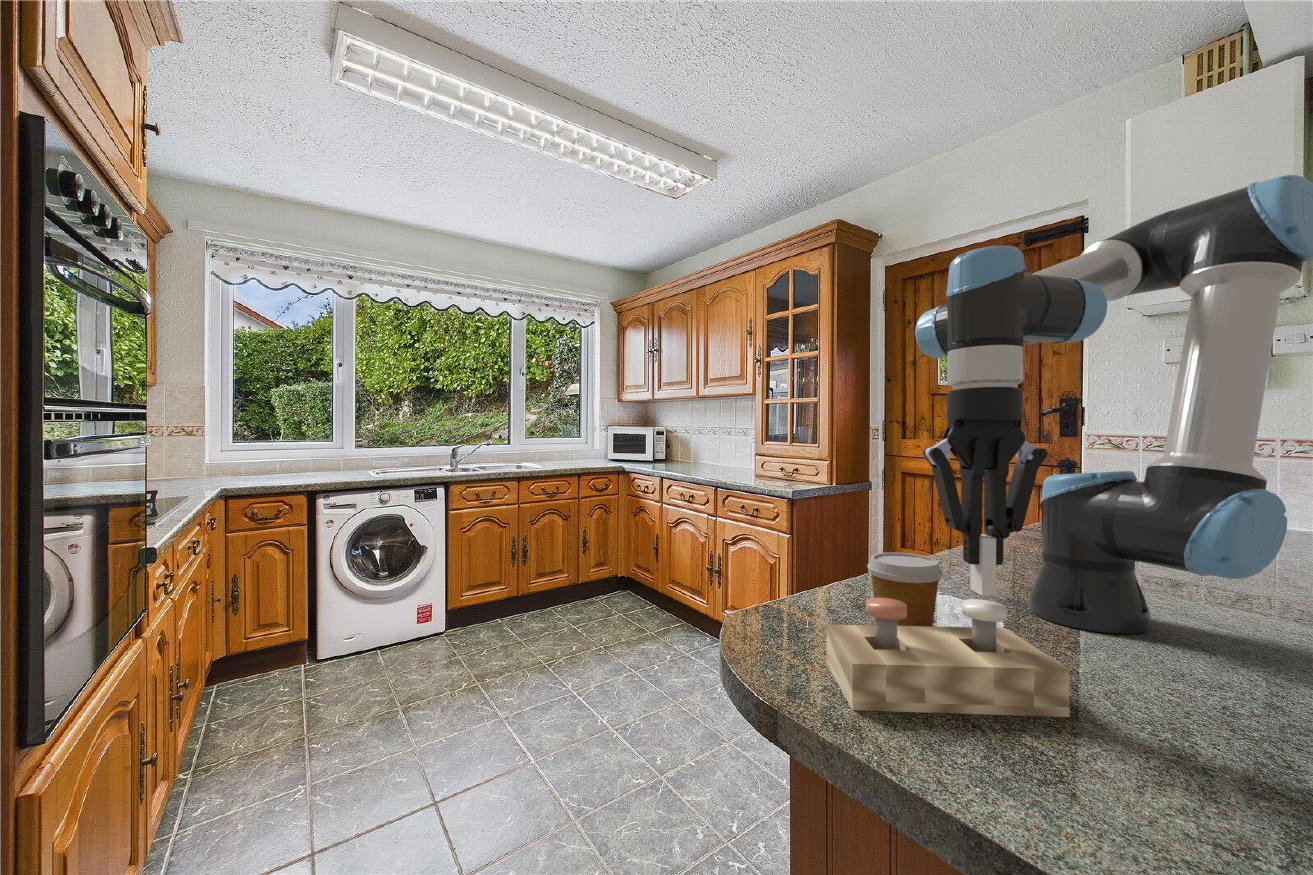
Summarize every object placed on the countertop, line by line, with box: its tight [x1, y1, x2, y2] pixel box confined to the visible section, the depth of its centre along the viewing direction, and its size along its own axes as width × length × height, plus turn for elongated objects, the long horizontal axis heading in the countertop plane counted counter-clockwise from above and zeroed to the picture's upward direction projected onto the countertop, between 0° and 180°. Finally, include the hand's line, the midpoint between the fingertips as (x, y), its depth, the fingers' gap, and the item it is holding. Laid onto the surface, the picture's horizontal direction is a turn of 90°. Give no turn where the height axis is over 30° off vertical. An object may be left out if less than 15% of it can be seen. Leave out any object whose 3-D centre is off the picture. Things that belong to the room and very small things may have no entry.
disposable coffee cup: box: [866, 552, 943, 627], centre depth 76 cm, size 10×10×12 cm
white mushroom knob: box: [961, 598, 1008, 651], centre depth 63 cm, size 4×4×5 cm
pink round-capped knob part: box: [865, 597, 907, 649], centre depth 64 cm, size 4×4×5 cm
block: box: [825, 623, 1070, 718], centre depth 64 cm, size 22×12×5 cm, turn 86°
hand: (982, 592), depth 63 cm, fingers closed
